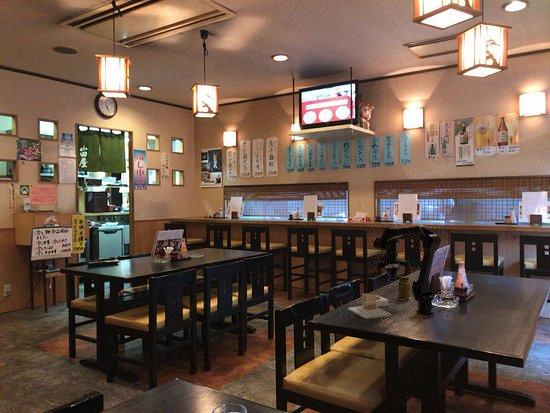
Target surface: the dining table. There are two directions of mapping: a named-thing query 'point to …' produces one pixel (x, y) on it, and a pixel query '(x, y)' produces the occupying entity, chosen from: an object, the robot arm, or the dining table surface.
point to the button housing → (382, 302)
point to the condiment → (404, 288)
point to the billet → (368, 301)
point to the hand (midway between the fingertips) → (391, 280)
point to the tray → (369, 312)
